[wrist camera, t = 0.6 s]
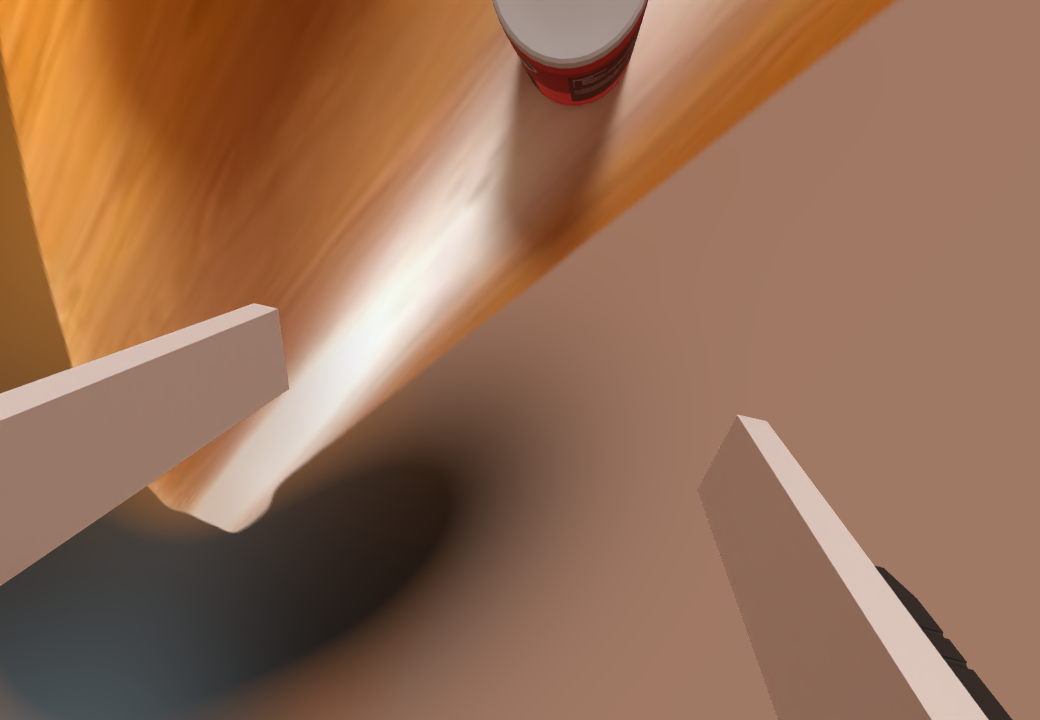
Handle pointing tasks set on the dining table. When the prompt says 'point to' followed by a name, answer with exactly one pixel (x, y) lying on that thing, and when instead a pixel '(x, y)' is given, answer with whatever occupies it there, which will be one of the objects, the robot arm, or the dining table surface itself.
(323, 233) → the dining table surface
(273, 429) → the dining table surface
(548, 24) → the canned food
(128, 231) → the dining table surface
